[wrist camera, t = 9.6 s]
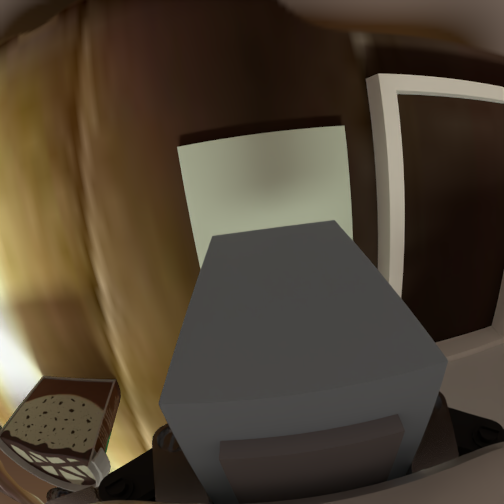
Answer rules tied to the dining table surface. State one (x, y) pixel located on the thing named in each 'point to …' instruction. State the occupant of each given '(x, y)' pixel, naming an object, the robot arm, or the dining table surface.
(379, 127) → the case
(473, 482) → the robot arm
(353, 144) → the dining table surface
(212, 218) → the mat
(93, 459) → the food container
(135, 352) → the dining table surface
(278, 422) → the box
